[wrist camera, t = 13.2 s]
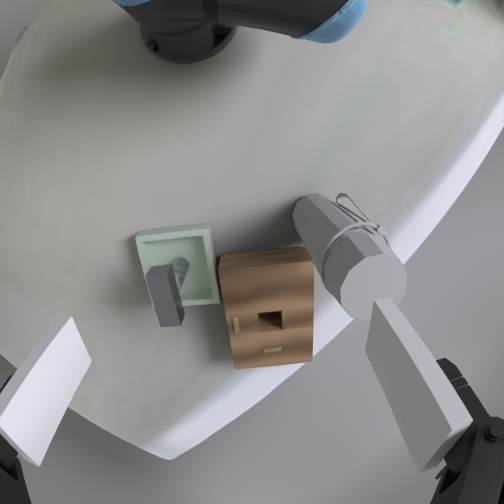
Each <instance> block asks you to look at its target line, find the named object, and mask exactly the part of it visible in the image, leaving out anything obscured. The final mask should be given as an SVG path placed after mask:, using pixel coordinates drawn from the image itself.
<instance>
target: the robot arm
mask: <svg viewBox="0 0 504 504" xmlns="http://www.w3.org/2000/svg"><path fill="white" fill-rule="evenodd" d="M112 1H113V2H115V3H116V4H118V5H119V6H121V7H122V8H123V9H124V10H125V11H126V12H127V13H128V14H130V15H131V16H132V17H133V18H134V19H135V20H136V21H137V22H138V23H139V24H140V33H141V37H142V40H143V42H144V43H145V45H146V46H147V48H148V49H149V50H150V51H151V52H153V53H154V54H155V55H156V56H158V57H159V58H161V59H163V60H166V61H169V62H173V63H192V62H197V61H201V60H204V59H206V58H209V57H211V56H213V55H214V54H216V53H218V52H219V51H220V50H222V49H223V48H224V47H225V46H226V45H227V44H228V43H229V42H230V40H231V39H232V37H233V36H234V34H235V32H236V29H237V25H238V26H244V27H250V28H256V29H261V30H266V31H271V32H276V33H280V34H284V35H289V36H290V37H292V38H294V39H306V40H310V41H315V42H318V43H334V42H336V41H338V40H340V39H342V38H343V37H345V36H346V35H347V34H348V33H349V32H350V31H351V30H352V29H353V28H354V27H355V25H356V24H357V23H358V21H359V20H360V19H361V17H362V15H363V14H364V12H365V11H366V9H367V7H368V0H112ZM365 352H366V354H367V355H368V358H369V360H370V362H371V365H372V367H373V369H374V371H375V373H376V375H377V378H378V380H379V382H380V384H381V387H382V389H383V391H384V393H385V395H386V398H387V400H388V402H389V405H390V407H391V409H392V412H393V414H394V416H395V419H396V421H397V423H398V426H399V428H400V431H401V433H402V436H403V438H404V440H405V443H406V445H407V448H408V450H409V453H410V456H411V458H412V461H413V463H414V466H415V469H416V471H417V474H419V473H421V472H424V471H426V470H429V469H431V468H433V467H436V466H437V465H438V464H439V463H440V462H441V461H442V460H443V459H445V461H446V463H447V465H446V466H445V467H444V468H443V469H442V470H441V471H440V472H439V473H438V475H437V476H436V478H435V479H438V478H439V477H440V476H441V475H442V476H441V479H440V481H439V483H438V486H437V488H436V491H435V493H434V496H433V498H432V501H431V503H430V504H504V420H503V419H501V418H499V417H490V416H489V414H488V413H487V412H486V410H485V408H484V407H483V406H482V404H481V402H480V401H479V399H478V398H477V396H476V394H475V393H474V392H473V390H472V388H471V387H470V386H468V383H467V381H466V380H465V378H463V377H462V374H461V372H460V371H459V370H458V368H457V367H456V366H455V365H454V364H453V363H451V362H450V361H449V360H447V359H446V358H443V359H439V360H435V359H434V357H433V356H432V354H431V353H430V351H429V350H428V349H427V347H426V346H425V345H424V343H423V342H422V340H421V339H420V337H419V336H418V334H417V333H416V332H415V330H414V329H413V327H412V326H411V325H410V323H409V322H408V321H407V319H406V318H405V317H404V315H403V314H402V313H401V311H400V310H399V309H398V307H397V306H396V305H395V303H394V302H393V301H392V299H391V298H384V299H377V300H374V302H373V309H372V315H371V321H370V327H369V333H368V338H367V343H366V349H365ZM91 362H92V360H91V358H90V356H89V354H88V352H87V350H86V348H85V346H84V343H83V341H82V339H81V337H80V334H79V332H78V330H77V328H76V325H75V323H74V320H73V318H72V316H59V317H58V318H57V320H56V321H55V322H54V323H53V324H52V326H51V327H50V328H49V329H48V331H47V332H46V333H45V334H44V335H43V337H42V338H41V339H40V340H39V342H38V343H37V344H36V346H35V347H34V348H33V349H32V351H31V352H30V353H29V355H28V356H27V357H26V359H25V360H24V361H23V363H22V364H21V365H20V367H19V368H18V369H17V371H16V372H15V373H14V374H13V375H11V376H10V377H9V378H8V379H7V381H6V382H5V384H4V385H3V388H1V389H0V504H31V501H30V498H29V494H28V491H27V487H26V484H25V480H24V476H23V471H22V467H21V463H20V461H19V459H18V458H17V457H16V456H17V454H18V453H19V454H20V455H21V456H22V457H23V458H24V459H25V460H26V461H28V462H30V463H32V464H35V465H37V466H40V464H41V462H42V460H43V457H44V455H45V453H46V451H47V448H48V446H49V444H50V442H51V440H52V437H53V435H54V433H55V431H56V429H57V427H58V425H59V423H60V421H61V419H62V417H63V415H64V413H65V411H66V409H67V407H68V405H69V403H70V401H71V399H72V397H73V395H74V393H75V391H76V390H77V388H78V386H79V384H80V382H81V380H82V378H83V377H84V375H85V373H86V371H87V369H88V368H89V366H90V364H91Z"/></svg>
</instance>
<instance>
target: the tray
mask: <svg viewBox="0 0 504 504" xmlns="http://www.w3.org/2000/svg"><path fill="white" fill-rule="evenodd" d="M135 240H136V244H137V249H138V253H139V257H140V261H141V265H142V269H143V273H144V277H145V281H146V285H147V289H148V292H149V296H150V300H151V303H152V307H153V308H154V304H153V301H152V297H151V294H150V290H149V287H148V284H147V280H146V276H145V275H146V274H147V272H148V271H149V270H150V268H151V267H152V266H158V265H167V264H172V262H173V260H174V259H175V258H177V257H183V258H185V259H187V260H188V262H189V265H190V267H189V270H188V272H187V275H186V277H185V280H184V282H183V285H182V287H181V289H180V292H179V294H180V298H181V302H182V306H191V305H206V304H220V301H221V288H220V282H219V275H218V269H217V262H216V256H215V249H214V242H213V235H212V228H211V223H203V224H194V225H185V226H177V227H168V228H160V229H152V230H144V231H140V232H139V233H138V234H137V235H136V236H135Z"/></svg>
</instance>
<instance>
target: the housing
mask: <svg viewBox="0 0 504 504" xmlns="http://www.w3.org/2000/svg"><path fill="white" fill-rule="evenodd" d="M218 272H219V278H220V285H221V291H222V297H223V303H224V309H225V315H226V321H227V327H228V333H229V339H230V344H231V350H232V355H233V361H234V366H235V369H242V368H255V367H267V366H278V365H287V364H296V363H304V362H311V361H312V353H313V313H314V262H313V260H312V258H311V256H310V254H309V253H308V251H307V249H306V247H305V246H303V247H292V248H282V249H271V250H260V251H250V252H239V253H228V254H221V258H220V263H219V268H218Z"/></svg>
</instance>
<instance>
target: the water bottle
mask: <svg viewBox="0 0 504 504" xmlns="http://www.w3.org/2000/svg"><path fill="white" fill-rule="evenodd" d="M343 197H348V198H349V199H350V200H351V201H352V202H353V203H354V204H355V206H356V207H357V208H358V209H359V210H360V211H361V212H362V213H363V215H364V216H365V217H366V218H367V219H368V220H369V221H370V222H367V221H365V220H364V219H362V218H361V217H359V216H358V215H356V214H355V213H353V212H352V211H350V210H349V209H347V208H346V207H344V206H343V205H341V201H342V198H343ZM336 203H337V204H338V205H339V206H341V207H342V208H344V209H345V210H347V211H349V212H350V213H352V214H353V215H355V216H356V217H358V218H360V219H361V220H363V221H364V222H358V221H357V220H356V219H355V218H353V217H352V216H351V215H349V214H348V213H347V212H346V211H344V210H343V209H342V208H340V207H339V206H338V205H337V204H335V203H334V202H333V201H331V200H330V199H329V198H327V197H324V196H322V195H319V194H312V195H306V196H304V197H303V198H302V199H301V200H300V201H298V202H297V203H296V206H295V208H294V211H293V213H292V216H293V222H294V226H295V228H296V230H297V232H298V234H299V235H300V237H301V239H302V241H303V243H304V245H305V247H306V249H307V251H308V253H309V254H310V256H311V258H312V260H313V262H314V264H315V266H316V268H317V270H318V272H319V274H320V276H321V279H322V282H323V284H324V286H325V288H326V289H327V290H328V291H329V293H331V294H332V295H333V296H334V297H335V298H336V300H337V301H338V302H339V304H340V305H341V306H342V307H343V309H344V310H345V311H346V312H347V313H348V315H349V316H350V317H351V318H355V319H359V320H363V321H370V320H371V315H372V309H373V302H374V300H377V299H384V298H391V299H392V301H393V302H394V303H395V305H396V306H397V305H398V304H399V302H400V300H401V299H402V297H403V295H404V293H405V291H406V289H407V272H406V270H405V268H404V266H403V265H402V263H401V261H400V260H399V258H398V257H397V256H396V255H395V253H394V252H393V251H392V250H391V247H390V241H389V238H388V237H387V235H386V234H385V233H386V232H387V231H386V230H384V229H383V228H382V227H381V226H379V225H375V224H374V223H373V222H372V221H371V220H370V219H369V218H368V216H367V215H366V214H365V213H364V212H363V211H362V210H361V208H360V207H359V206H358V205H357V204H356V203H355V202H354V201H353V199H352V198H351V197H349V196H348V195H347V194H344V193H339V195H338V196H337V197H336ZM365 226H370V227H372V228H373V229H374V230H375V231H377V232H378V233H380V234H381V235H382V236H383V237H384V239H385V240H386V243H385V241H384V240H383V239H381V238H379V237H377V236H375V235H374V234H373V233H372V232H371V231H369V230H368V229H367V228H366V227H365Z"/></svg>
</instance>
